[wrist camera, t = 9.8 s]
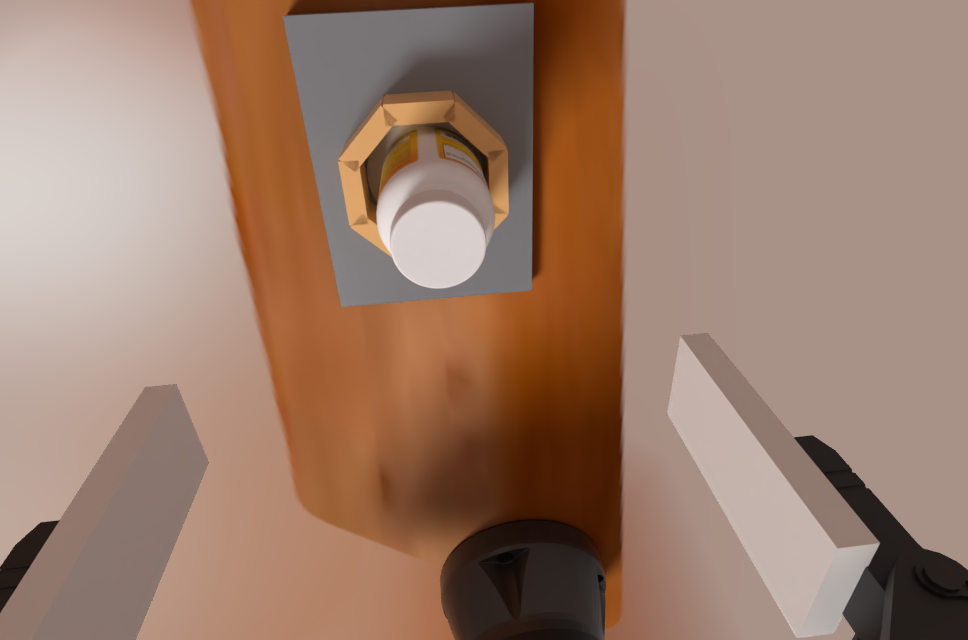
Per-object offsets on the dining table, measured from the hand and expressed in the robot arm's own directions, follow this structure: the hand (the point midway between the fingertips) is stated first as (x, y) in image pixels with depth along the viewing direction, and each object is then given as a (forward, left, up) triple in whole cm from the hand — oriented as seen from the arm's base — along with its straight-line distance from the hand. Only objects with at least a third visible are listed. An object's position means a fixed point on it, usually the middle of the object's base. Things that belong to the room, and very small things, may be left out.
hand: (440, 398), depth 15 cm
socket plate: (0, 0, -20) cm, 20 cm away
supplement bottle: (0, 0, -19) cm, 19 cm away
